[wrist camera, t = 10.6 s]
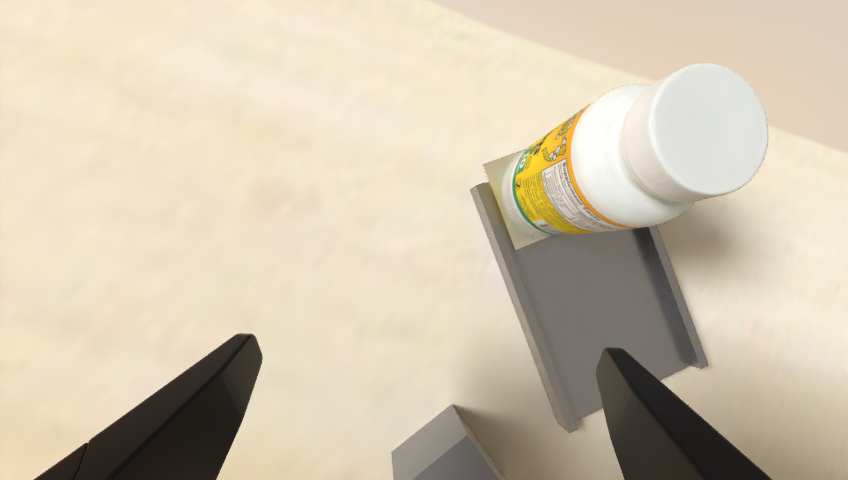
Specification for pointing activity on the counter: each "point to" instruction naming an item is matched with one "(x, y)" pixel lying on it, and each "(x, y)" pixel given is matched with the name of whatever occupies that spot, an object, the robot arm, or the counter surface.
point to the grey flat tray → (586, 298)
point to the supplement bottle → (643, 154)
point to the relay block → (444, 453)
